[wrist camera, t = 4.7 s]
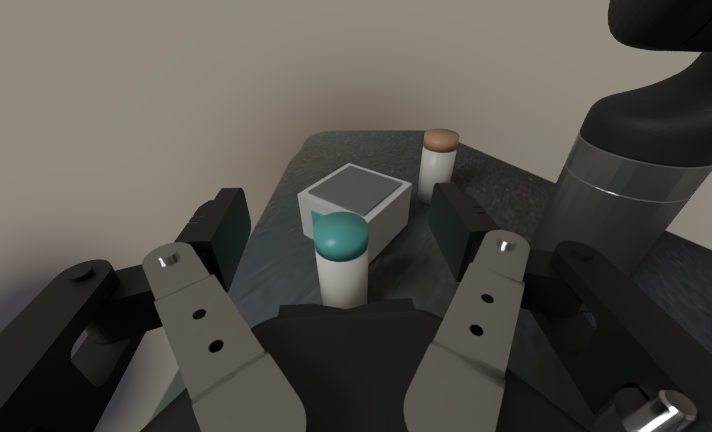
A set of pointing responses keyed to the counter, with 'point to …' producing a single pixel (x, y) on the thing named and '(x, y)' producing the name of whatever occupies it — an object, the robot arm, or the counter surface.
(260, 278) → the counter surface
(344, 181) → the grey unit
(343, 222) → the teal capped canister
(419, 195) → the white spice bottle
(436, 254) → the counter surface
